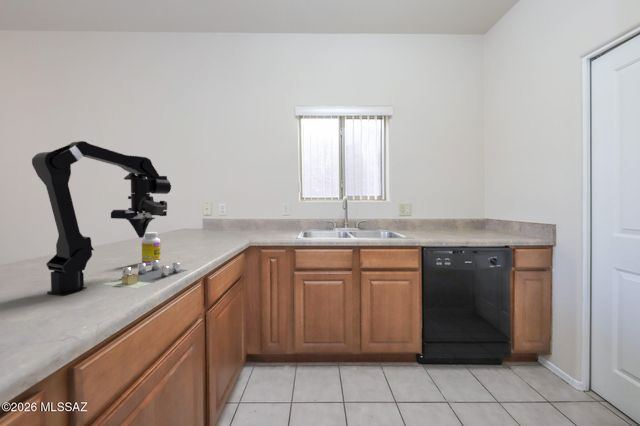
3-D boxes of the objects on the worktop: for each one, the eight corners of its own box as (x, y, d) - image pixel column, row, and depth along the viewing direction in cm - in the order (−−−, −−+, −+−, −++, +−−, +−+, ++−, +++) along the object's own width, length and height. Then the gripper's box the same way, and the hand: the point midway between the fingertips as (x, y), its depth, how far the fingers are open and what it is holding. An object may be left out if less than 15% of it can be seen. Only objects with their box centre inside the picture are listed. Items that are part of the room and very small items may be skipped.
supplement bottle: (154, 265, 118) (154, 233, 117) (138, 265, 118) (137, 233, 117) (163, 262, 124) (163, 231, 124) (148, 261, 124) (147, 231, 124)
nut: (131, 285, 90) (131, 277, 90) (118, 284, 91) (118, 276, 91) (141, 281, 94) (141, 274, 94) (129, 280, 95) (129, 273, 95)
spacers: (152, 282, 94) (152, 271, 94) (120, 279, 97) (120, 268, 97) (183, 271, 108) (183, 261, 108) (154, 268, 111) (154, 259, 111)
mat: (136, 289, 88) (136, 288, 88) (101, 285, 91) (101, 284, 91) (188, 271, 110) (188, 270, 110) (158, 268, 113) (158, 267, 113)
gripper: (137, 193, 93) (138, 242, 94) (178, 194, 111) (179, 235, 112) (108, 192, 96) (109, 240, 96) (153, 193, 114) (154, 234, 114)
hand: (141, 237), depth 105 cm, fingers closed
